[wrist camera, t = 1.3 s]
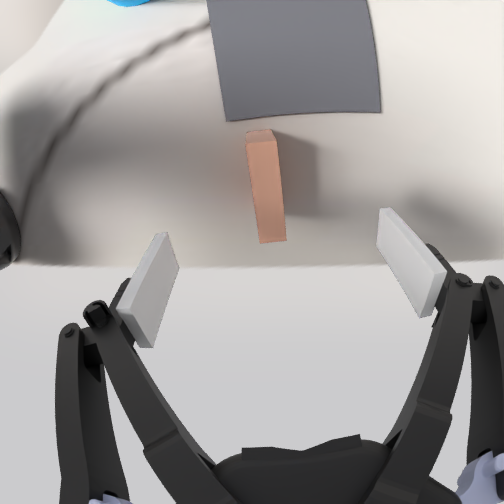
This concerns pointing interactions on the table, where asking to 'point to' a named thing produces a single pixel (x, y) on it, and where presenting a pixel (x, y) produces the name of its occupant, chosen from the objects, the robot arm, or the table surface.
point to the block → (266, 185)
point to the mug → (128, 2)
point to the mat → (294, 56)
